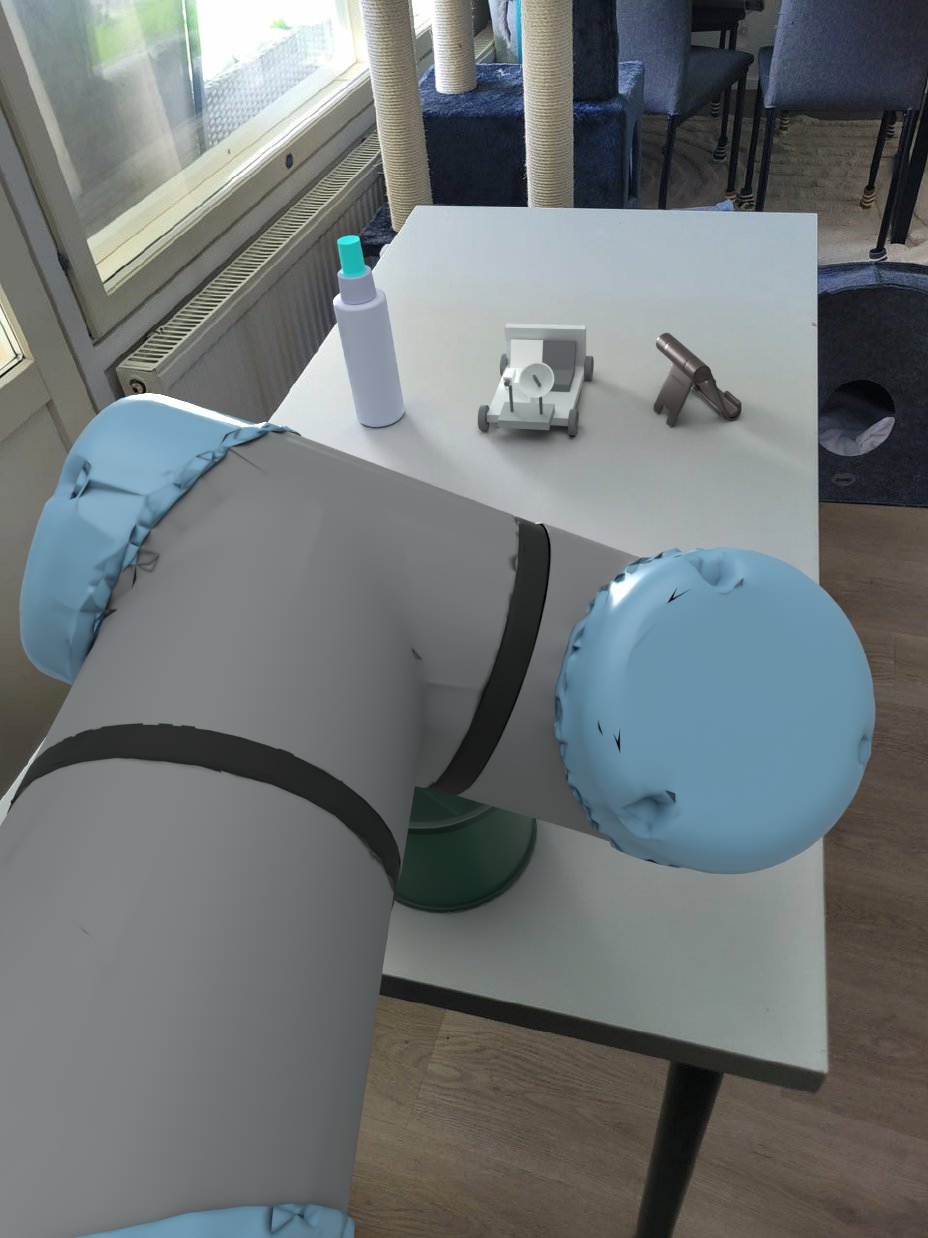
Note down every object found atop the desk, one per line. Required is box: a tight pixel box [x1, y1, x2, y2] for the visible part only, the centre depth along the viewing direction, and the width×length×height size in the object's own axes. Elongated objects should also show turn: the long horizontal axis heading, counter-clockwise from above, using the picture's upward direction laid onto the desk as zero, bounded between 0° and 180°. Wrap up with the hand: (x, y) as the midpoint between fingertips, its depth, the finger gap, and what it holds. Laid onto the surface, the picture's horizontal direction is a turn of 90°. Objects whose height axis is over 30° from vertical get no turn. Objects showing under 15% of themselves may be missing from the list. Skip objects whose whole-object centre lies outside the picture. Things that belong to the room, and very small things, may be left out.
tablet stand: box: [652, 332, 743, 427], centre depth 107 cm, size 9×8×8 cm
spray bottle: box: [332, 234, 405, 428], centre depth 108 cm, size 6×6×22 cm
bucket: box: [395, 786, 538, 914], centre depth 67 cm, size 14×14×11 cm
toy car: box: [477, 323, 595, 436], centre depth 110 cm, size 18×10×12 cm
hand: (438, 699), depth 55 cm, fingers open, 13 cm apart
